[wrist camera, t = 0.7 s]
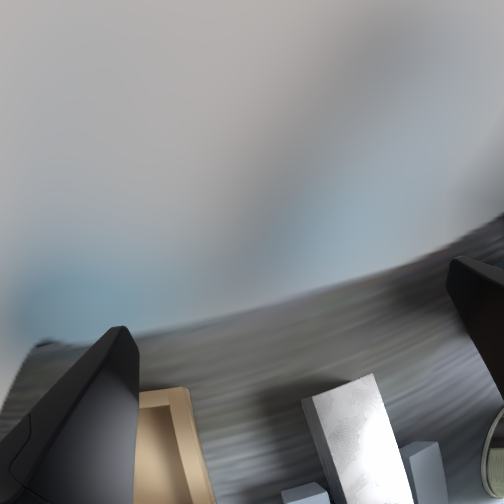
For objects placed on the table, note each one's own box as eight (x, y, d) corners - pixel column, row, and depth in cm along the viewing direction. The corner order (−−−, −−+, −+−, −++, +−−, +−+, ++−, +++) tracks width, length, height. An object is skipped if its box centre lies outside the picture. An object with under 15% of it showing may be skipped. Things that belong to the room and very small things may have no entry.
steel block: (393, 514, 15) (419, 526, 12) (345, 537, 14) (364, 555, 11) (350, 381, 21) (372, 373, 17) (299, 400, 20) (312, 397, 16)
